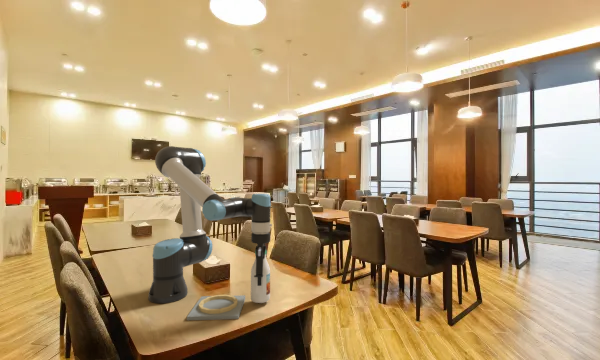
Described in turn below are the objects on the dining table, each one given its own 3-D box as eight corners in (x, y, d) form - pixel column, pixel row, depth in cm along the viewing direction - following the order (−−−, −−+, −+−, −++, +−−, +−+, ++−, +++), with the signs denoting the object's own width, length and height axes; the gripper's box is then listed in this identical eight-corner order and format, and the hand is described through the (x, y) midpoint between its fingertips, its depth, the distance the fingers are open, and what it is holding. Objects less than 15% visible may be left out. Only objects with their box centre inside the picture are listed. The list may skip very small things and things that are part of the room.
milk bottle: (261, 305, 112) (262, 253, 111) (246, 300, 116) (247, 250, 116) (273, 298, 118) (274, 249, 118) (259, 294, 122) (259, 246, 122)
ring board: (186, 320, 102) (186, 313, 102) (201, 299, 120) (201, 293, 120) (238, 318, 103) (238, 312, 103) (245, 298, 121) (245, 292, 121)
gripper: (268, 237, 107) (268, 299, 107) (271, 227, 127) (271, 279, 127) (248, 237, 106) (247, 299, 106) (254, 227, 127) (253, 280, 127)
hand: (260, 288), depth 117 cm, fingers closed on milk bottle, 8 cm apart
